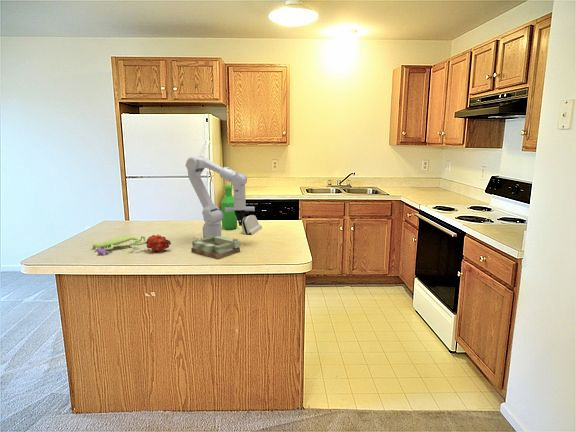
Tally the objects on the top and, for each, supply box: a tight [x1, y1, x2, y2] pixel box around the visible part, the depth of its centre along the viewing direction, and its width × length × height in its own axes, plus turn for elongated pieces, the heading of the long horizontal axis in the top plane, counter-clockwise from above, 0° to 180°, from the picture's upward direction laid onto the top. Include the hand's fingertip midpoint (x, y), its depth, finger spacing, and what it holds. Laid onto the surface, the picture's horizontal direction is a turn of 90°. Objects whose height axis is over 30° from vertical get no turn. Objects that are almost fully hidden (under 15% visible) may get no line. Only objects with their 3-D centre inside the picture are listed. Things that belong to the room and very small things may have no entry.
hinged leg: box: [214, 235, 241, 248], centre depth 185 cm, size 14×3×4 cm, turn 53°
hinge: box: [241, 214, 263, 236], centre depth 220 cm, size 17×5×10 cm, turn 164°
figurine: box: [92, 235, 147, 256], centre depth 187 cm, size 18×27×6 cm
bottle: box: [220, 185, 238, 231], centre depth 224 cm, size 9×9×25 cm
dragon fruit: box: [145, 234, 172, 253], centre depth 183 cm, size 8×8×12 cm
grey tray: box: [191, 236, 241, 260], centre depth 182 cm, size 18×14×5 cm
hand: (240, 225), depth 194 cm, fingers closed
